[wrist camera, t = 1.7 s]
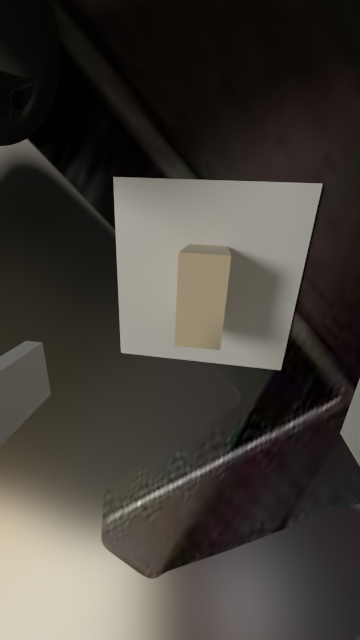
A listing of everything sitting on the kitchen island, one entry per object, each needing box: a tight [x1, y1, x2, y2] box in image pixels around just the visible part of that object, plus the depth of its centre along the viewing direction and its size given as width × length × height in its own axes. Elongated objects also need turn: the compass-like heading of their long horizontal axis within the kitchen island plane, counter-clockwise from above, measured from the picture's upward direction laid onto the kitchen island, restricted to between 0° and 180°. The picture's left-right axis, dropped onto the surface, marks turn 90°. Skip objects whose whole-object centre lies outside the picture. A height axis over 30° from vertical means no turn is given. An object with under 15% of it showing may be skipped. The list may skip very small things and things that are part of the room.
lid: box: [113, 177, 323, 370], centre depth 25 cm, size 20×20×9 cm
